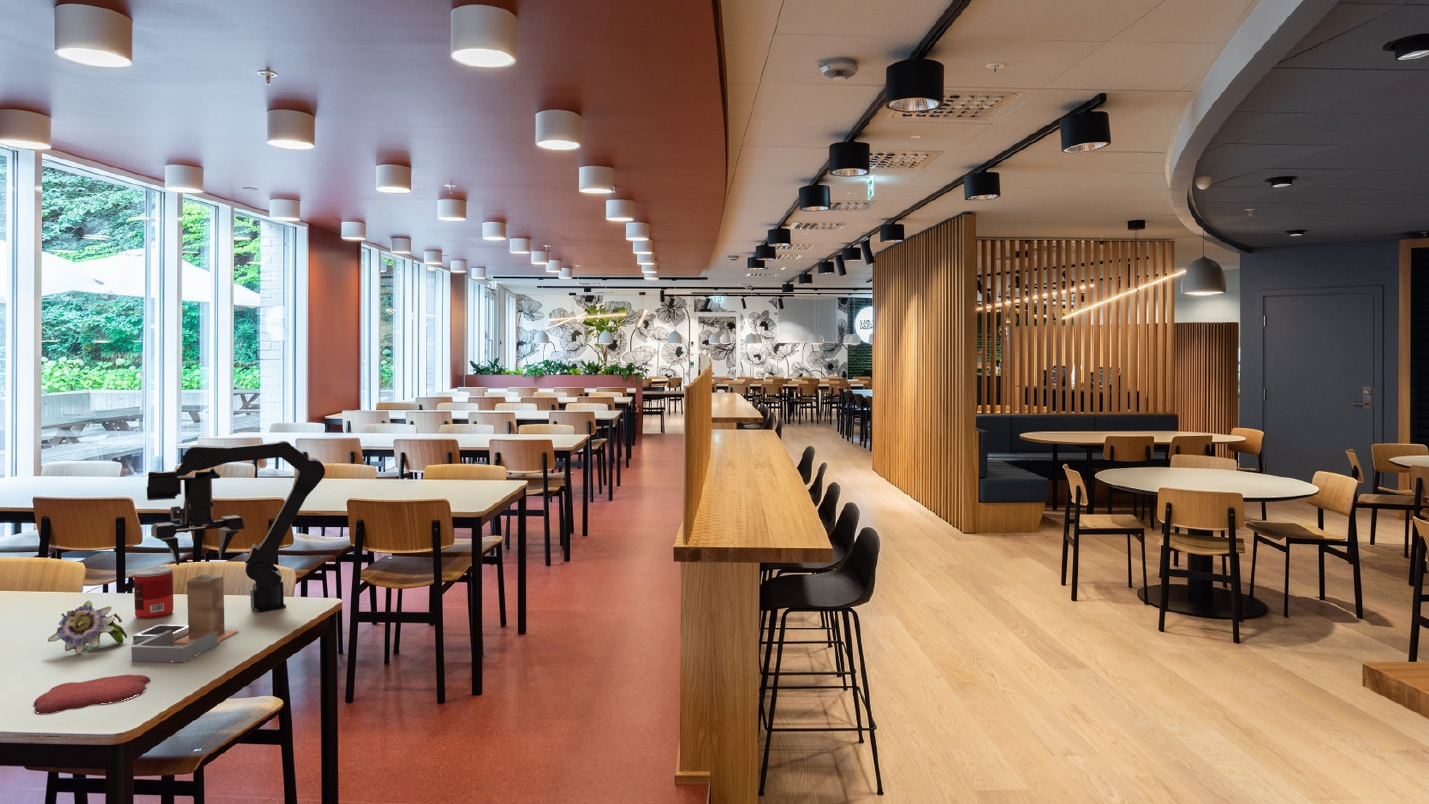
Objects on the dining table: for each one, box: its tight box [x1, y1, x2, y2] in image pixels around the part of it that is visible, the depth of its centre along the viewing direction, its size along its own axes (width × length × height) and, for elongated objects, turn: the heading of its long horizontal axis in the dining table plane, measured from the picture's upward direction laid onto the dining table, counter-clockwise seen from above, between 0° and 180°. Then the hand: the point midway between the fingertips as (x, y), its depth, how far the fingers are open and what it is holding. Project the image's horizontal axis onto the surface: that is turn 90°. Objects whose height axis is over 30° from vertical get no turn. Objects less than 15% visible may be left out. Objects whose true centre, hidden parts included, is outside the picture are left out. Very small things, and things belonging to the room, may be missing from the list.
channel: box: [131, 630, 218, 663], centre depth 184 cm, size 11×11×3 cm
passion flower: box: [47, 600, 128, 656], centre depth 187 cm, size 11×11×12 cm
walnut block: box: [186, 574, 226, 640], centre depth 193 cm, size 5×5×13 cm
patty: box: [33, 674, 151, 714], centre depth 161 cm, size 18×14×2 cm
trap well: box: [132, 623, 188, 643], centre depth 194 cm, size 8×8×2 cm
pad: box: [172, 629, 239, 645], centre depth 194 cm, size 9×9×1 cm
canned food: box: [133, 566, 174, 620], centre depth 211 cm, size 8×8×11 cm
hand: (199, 562), depth 210 cm, fingers open, 9 cm apart
